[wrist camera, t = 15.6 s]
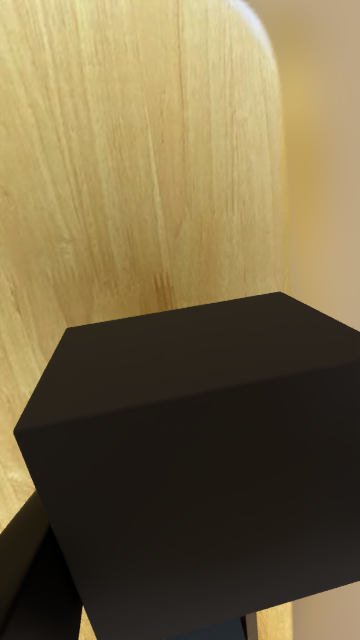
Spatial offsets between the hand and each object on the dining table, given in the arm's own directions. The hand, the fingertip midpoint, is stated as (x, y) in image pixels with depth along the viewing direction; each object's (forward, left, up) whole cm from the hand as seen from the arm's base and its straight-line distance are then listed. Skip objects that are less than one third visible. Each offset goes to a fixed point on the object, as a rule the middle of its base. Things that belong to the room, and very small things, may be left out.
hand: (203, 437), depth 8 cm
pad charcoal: (0, 0, -2) cm, 2 cm away
